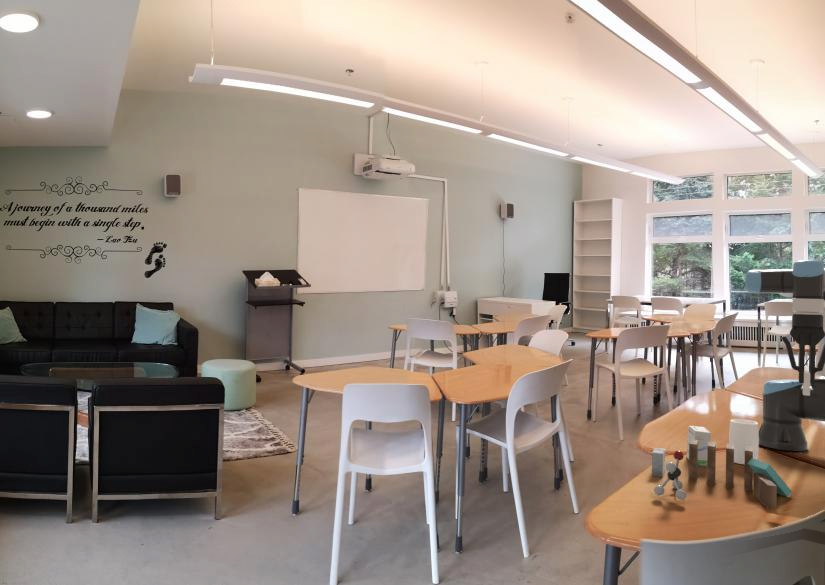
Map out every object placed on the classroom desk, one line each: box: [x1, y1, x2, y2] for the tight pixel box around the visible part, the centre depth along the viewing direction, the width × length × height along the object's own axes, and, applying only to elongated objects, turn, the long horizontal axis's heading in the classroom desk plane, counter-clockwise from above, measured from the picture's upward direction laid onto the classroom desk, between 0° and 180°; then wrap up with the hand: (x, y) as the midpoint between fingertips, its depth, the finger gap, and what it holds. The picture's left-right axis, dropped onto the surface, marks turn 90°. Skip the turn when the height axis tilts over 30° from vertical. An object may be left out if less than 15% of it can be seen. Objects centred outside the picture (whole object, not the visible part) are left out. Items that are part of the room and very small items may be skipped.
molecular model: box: [653, 450, 687, 501], centre depth 162 cm, size 8×12×11 cm
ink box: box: [686, 425, 712, 468], centre depth 189 cm, size 9×5×12 cm, turn 168°
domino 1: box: [688, 439, 699, 483], centre depth 175 cm, size 2×6×11 cm, turn 151°
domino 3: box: [725, 443, 735, 489], centre depth 170 cm, size 2×6×11 cm, turn 151°
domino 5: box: [752, 472, 778, 510], centre depth 156 cm, size 2×6×11 cm
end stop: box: [651, 446, 666, 478], centre depth 179 cm, size 3×7×7 cm, turn 151°
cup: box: [728, 418, 760, 466], centre depth 190 cm, size 8×8×14 cm
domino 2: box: [706, 441, 717, 486], centre depth 172 cm, size 2×6×11 cm, turn 151°
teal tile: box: [748, 458, 793, 498], centre depth 162 cm, size 2×6×11 cm
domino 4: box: [743, 446, 754, 492], centre depth 168 cm, size 2×6×11 cm, turn 149°
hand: (806, 394), depth 170 cm, fingers closed
